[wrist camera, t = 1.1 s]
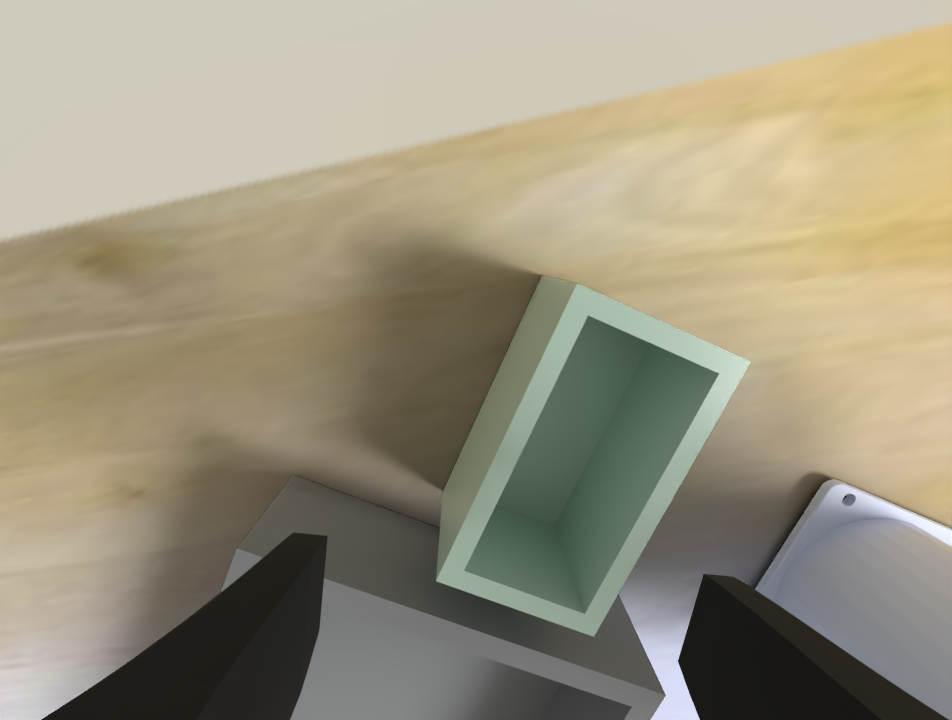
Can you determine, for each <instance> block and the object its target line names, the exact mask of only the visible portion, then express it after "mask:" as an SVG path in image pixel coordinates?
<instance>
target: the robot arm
mask: <svg viewBox="0 0 952 720" xmlns="http://www.w3.org/2000/svg"><path fill="white" fill-rule="evenodd" d="M845 495H847V496H846V498H845V499H844V500H843V497H844V496H845ZM327 538H328V536H324V535H314V534H305V533H295V532H294V533H292V534H291V535H289V536H288V537H287V538H286V539H284V540H283V541H282V542H281V543H280V544H278V545H277V546H276V547H275V548H274V549H272V550H271V551H270V552H269V553H268V554H267V555H265V556H264V557H263V558H262V559H261V560H260V561H258V562H257V563H256V564H255V565H254V566H252V567H251V568H250V569H249V570H248V571H246V572H245V573H244V574H243V575H242V576H240V577H239V578H238V579H237V580H236V581H234V582H233V583H232V584H231V585H229V586H228V587H227V588H226V589H224V590H223V591H222V592H221V593H219V594H218V595H217V596H216V597H214V598H213V599H212V600H211V601H209V602H208V603H207V604H206V605H204V606H203V607H202V608H201V609H199V610H198V611H197V612H196V613H194V614H193V615H192V616H190V617H189V618H188V619H186V620H185V621H184V622H182V623H181V624H180V625H178V626H177V627H176V628H174V629H173V630H172V631H170V632H169V633H168V634H166V635H165V636H163V637H162V638H161V639H159V640H158V641H157V642H155V643H154V644H153V645H151V646H150V647H148V648H147V649H146V650H144V651H143V652H142V653H140V654H139V655H138V656H136V657H135V658H133V659H132V660H131V661H129V662H128V663H126V664H125V665H123V666H122V667H121V668H119V669H118V670H116V671H115V672H113V673H112V674H110V675H109V676H107V677H106V678H105V679H103V680H102V681H100V682H99V683H97V684H96V685H94V686H93V687H91V688H90V689H88V690H87V691H85V692H84V693H82V694H81V695H79V696H78V697H76V698H74V699H73V700H71V701H70V702H68V703H67V704H65V705H63V706H62V707H60V708H59V709H57V710H56V711H54V712H53V713H51V714H49V715H48V716H46V717H45V718H43V719H42V720H290V719H291V716H292V714H293V711H294V709H295V706H296V704H297V701H298V699H299V696H300V694H301V691H302V688H303V684H304V681H305V678H306V674H307V671H308V668H309V665H310V661H311V658H312V654H313V651H314V647H315V644H316V641H317V637H318V634H319V630H320V618H321V607H322V595H323V584H324V572H325V561H326V549H327ZM678 662H679V665H680V668H681V671H682V674H683V676H684V679H685V682H686V685H687V687H688V690H689V693H690V696H691V698H692V701H693V703H694V706H695V708H696V711H697V713H698V716H699V718H700V720H952V529H951V528H949V527H947V526H944V525H942V524H940V523H937V522H935V521H933V520H930V519H928V518H926V517H923V516H921V515H919V514H916V513H914V512H912V511H909V510H907V509H905V508H902V507H900V506H898V505H895V504H893V503H891V502H888V501H886V500H884V499H881V498H879V497H877V496H874V495H872V494H870V493H867V492H865V491H862V490H860V489H858V488H855V487H853V486H851V485H848V484H846V483H844V482H841V481H839V480H835V479H832V480H828V481H826V482H824V483H823V484H822V485H821V487H820V488H819V490H818V491H817V493H816V494H815V496H814V498H813V499H812V501H811V502H810V504H809V505H808V507H807V509H806V510H805V512H804V513H803V515H802V516H801V518H800V519H799V521H798V523H797V524H796V526H795V527H794V529H793V530H792V532H791V534H790V535H789V537H788V538H787V540H786V541H785V543H784V544H783V546H782V548H781V549H780V551H779V552H778V554H777V555H776V557H775V559H774V560H773V562H772V563H771V565H770V566H769V568H768V569H767V571H766V573H765V574H764V576H763V577H762V579H761V580H760V582H759V584H758V585H757V587H756V588H755V589H753V588H751V587H750V586H748V585H747V584H745V583H743V582H741V581H740V580H738V579H736V578H734V577H728V576H718V575H708V574H704V575H703V579H702V582H701V585H700V589H699V592H698V595H697V599H696V602H695V606H694V609H693V612H692V616H691V619H690V623H689V626H688V629H687V633H686V636H685V640H684V643H683V646H682V650H681V653H680V656H679V660H678Z"/></svg>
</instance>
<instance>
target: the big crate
mask: <svg viewBox="0 0 952 720" xmlns="http://www.w3.org/2000/svg"><path fill="white" fill-rule="evenodd" d="M294 532H295V533H305V534H314V535H324V536H328V538H327V549H326V561H325V572H324V584H323V595H322V607H321V618H320V630H319V634H318V637H317V641H316V644H315V647H314V651H313V654H312V658H311V661H310V665H309V668H308V671H307V674H306V678H305V681H304V684H303V688H302V691H301V694H300V696H299V699H298V701H297V704H296V706H295V709H294V711H293V714H292V716H291V719H290V720H650V719H651V718H652V716H653V715H654V713H655V711H656V710H657V708H658V707H659V705H660V704H661V702H662V700H663V699H664V697H665V696H666V695H665V693H664V691H663V689H662V686H661V684H660V682H659V680H658V678H657V676H656V674H655V671H654V669H653V667H652V665H651V663H650V661H649V659H648V657H647V654H646V652H645V650H644V648H643V646H642V644H641V642H640V639H639V637H638V635H637V633H636V631H635V629H634V627H633V624H632V622H631V620H630V618H629V616H628V614H627V612H626V609H625V607H624V605H623V603H622V601H621V599H620V597H619V594H618V595H617V597H616V599H615V601H614V602H613V604H612V606H611V608H610V609H609V611H608V613H607V615H606V616H605V618H604V620H603V622H602V623H601V625H600V627H599V629H598V630H597V632H596V634H595V636H594V637H593V636H590V635H587V634H585V633H582V632H579V631H576V630H573V629H570V628H568V627H565V626H562V625H559V624H556V623H553V622H550V621H548V620H545V619H542V618H539V617H536V616H533V615H531V614H528V613H525V612H522V611H519V610H516V609H514V608H511V607H508V606H505V605H502V604H499V603H497V602H494V601H491V600H488V599H485V598H482V597H480V596H477V595H474V594H471V593H468V592H465V591H462V590H460V589H457V588H454V587H451V586H448V585H445V584H443V583H440V582H437V581H436V573H437V560H438V547H439V534H440V528H437V527H434V526H431V525H429V524H426V523H423V522H421V521H418V520H415V519H412V518H410V517H407V516H404V515H401V514H399V513H396V512H393V511H391V510H388V509H385V508H382V507H380V506H377V505H374V504H371V503H369V502H366V501H363V500H361V499H358V498H355V497H352V496H350V495H347V494H344V493H342V492H339V491H336V490H333V489H331V488H328V487H325V486H322V485H320V484H317V483H314V482H312V481H309V480H306V479H303V478H301V477H298V476H295V475H293V476H292V477H291V478H290V480H289V481H288V482H287V483H286V485H285V486H284V487H283V489H282V490H281V491H280V493H279V494H278V495H277V496H276V498H275V499H274V500H273V502H272V503H271V504H270V506H269V507H268V508H267V509H266V511H265V512H264V513H263V515H262V516H261V517H260V519H259V520H258V521H257V523H256V524H255V525H254V526H253V528H252V529H251V530H250V532H249V533H248V534H247V536H246V537H245V538H244V539H243V541H242V542H241V543H240V545H239V546H238V547H237V549H236V551H235V554H234V557H233V560H232V562H231V565H230V568H229V571H228V573H227V576H226V579H225V581H224V584H223V587H222V590H221V592H222V591H223V590H224V589H226V588H227V587H228V586H229V585H231V584H232V583H233V582H234V581H236V580H237V579H238V578H239V577H240V576H242V575H243V574H244V573H245V572H246V571H248V570H249V569H250V568H251V567H252V566H254V565H255V564H256V563H257V562H258V561H260V560H261V559H262V558H263V557H264V556H265V555H267V554H268V553H269V552H270V551H271V550H272V549H274V548H275V547H276V546H277V545H278V544H280V543H281V542H282V541H283V540H284V539H286V538H287V537H288V536H289V535H291V534H292V533H294ZM221 592H220V593H221Z"/></svg>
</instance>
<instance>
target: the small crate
mask: <svg viewBox="0 0 952 720" xmlns="http://www.w3.org/2000/svg"><path fill="white" fill-rule="evenodd" d="M750 363H751V361H748V360H746V359H744V358H742V357H740V356H737V355H735V354H733V353H731V352H728V351H726V350H724V349H722V348H720V347H717V346H715V345H713V344H711V343H709V342H706V341H704V340H702V339H700V338H697V337H695V336H693V335H691V334H689V333H686V332H684V331H682V330H680V329H678V328H675V327H673V326H671V325H669V324H667V323H664V322H662V321H660V320H658V319H655V318H653V317H651V316H649V315H647V314H644V313H642V312H640V311H638V310H636V309H633V308H631V307H629V306H627V305H624V304H622V303H620V302H618V301H616V300H613V299H611V298H609V297H607V296H605V295H602V294H600V293H598V292H596V291H594V290H591V289H589V288H587V287H585V286H582V285H580V284H578V283H574V282H570V281H566V280H561V279H557V278H552V277H548V276H543V275H542V276H541V278H540V280H539V282H538V285H537V287H536V289H535V291H534V293H533V295H532V298H531V300H530V302H529V304H528V306H527V309H526V311H525V313H524V315H523V317H522V320H521V322H520V324H519V326H518V328H517V330H516V333H515V335H514V337H513V339H512V341H511V344H510V346H509V348H508V350H507V352H506V355H505V357H504V359H503V361H502V363H501V365H500V368H499V370H498V372H497V374H496V376H495V379H494V381H493V383H492V385H491V387H490V390H489V392H488V394H487V396H486V398H485V400H484V403H483V405H482V407H481V409H480V411H479V414H478V416H477V418H476V420H475V422H474V425H473V427H472V429H471V431H470V433H469V435H468V438H467V440H466V442H465V444H464V446H463V449H462V451H461V453H460V455H459V457H458V460H457V462H456V464H455V466H454V468H453V470H452V473H451V475H450V477H449V479H448V481H447V484H446V486H445V488H444V490H443V494H442V507H441V521H440V534H439V547H438V560H437V573H436V581H437V582H440V583H443V584H445V585H448V586H451V587H454V588H457V589H460V590H462V591H465V592H468V593H471V594H474V595H477V596H480V597H482V598H485V599H488V600H491V601H494V602H497V603H499V604H502V605H505V606H508V607H511V608H514V609H516V610H519V611H522V612H525V613H528V614H531V615H533V616H536V617H539V618H542V619H545V620H548V621H550V622H553V623H556V624H559V625H562V626H565V627H568V628H570V629H573V630H576V631H579V632H582V633H585V634H587V635H590V636H593V637H594V636H595V634H596V632H597V630H598V629H599V627H600V625H601V623H602V622H603V620H604V618H605V616H606V615H607V613H608V611H609V609H610V608H611V606H612V604H613V602H614V601H615V599H616V597H617V595H618V594H619V592H620V590H621V588H622V587H623V585H624V583H625V581H626V580H627V578H628V576H629V574H630V573H631V571H632V569H633V567H634V566H635V564H636V562H637V560H638V559H639V557H640V555H641V553H642V552H643V550H644V548H645V546H646V545H647V543H648V541H649V539H650V538H651V536H652V534H653V532H654V531H655V529H656V527H657V525H658V524H659V522H660V520H661V518H662V517H663V515H664V513H665V511H666V510H667V508H668V506H669V504H670V503H671V501H672V499H673V497H674V496H675V494H676V492H677V490H678V489H679V487H680V485H681V483H682V482H683V480H684V478H685V476H686V475H687V473H688V471H689V469H690V468H691V466H692V464H693V462H694V461H695V459H696V457H697V455H698V454H699V452H700V450H701V448H702V447H703V445H704V443H705V441H706V440H707V438H708V436H709V434H710V433H711V431H712V429H713V427H714V426H715V424H716V422H717V420H718V419H719V417H720V415H721V413H722V412H723V410H724V408H725V406H726V405H727V403H728V401H729V399H730V398H731V396H732V394H733V392H734V391H735V389H736V387H737V385H738V384H739V382H740V380H741V378H742V377H743V375H744V373H745V371H746V370H747V368H748V366H749V364H750Z"/></svg>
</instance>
